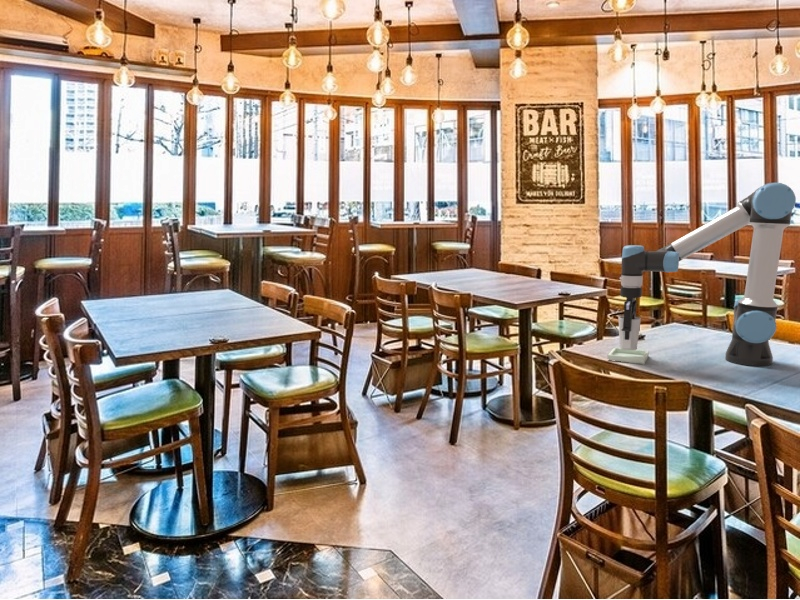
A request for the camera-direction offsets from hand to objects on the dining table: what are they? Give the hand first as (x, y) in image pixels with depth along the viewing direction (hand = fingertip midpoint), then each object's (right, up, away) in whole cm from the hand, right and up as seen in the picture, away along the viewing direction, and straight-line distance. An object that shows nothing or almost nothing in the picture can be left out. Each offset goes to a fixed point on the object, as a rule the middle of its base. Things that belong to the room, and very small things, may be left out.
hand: (628, 345), depth 221 cm
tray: (0, -5, +1) cm, 5 cm away
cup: (0, -1, 0) cm, 1 cm away
